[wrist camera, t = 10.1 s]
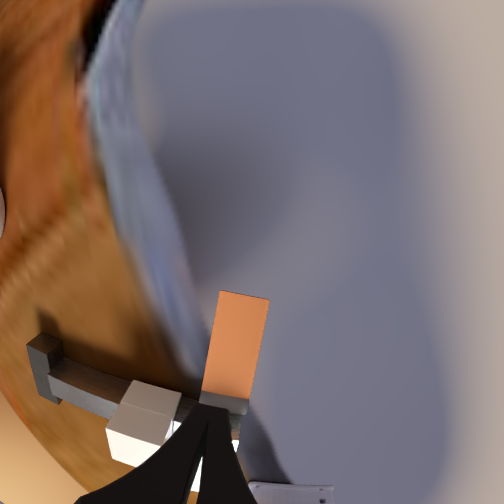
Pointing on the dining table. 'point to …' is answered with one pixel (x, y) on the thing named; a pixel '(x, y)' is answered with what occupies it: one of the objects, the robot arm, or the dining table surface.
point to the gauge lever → (233, 351)
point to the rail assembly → (93, 386)
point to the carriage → (141, 422)
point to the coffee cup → (2, 213)
